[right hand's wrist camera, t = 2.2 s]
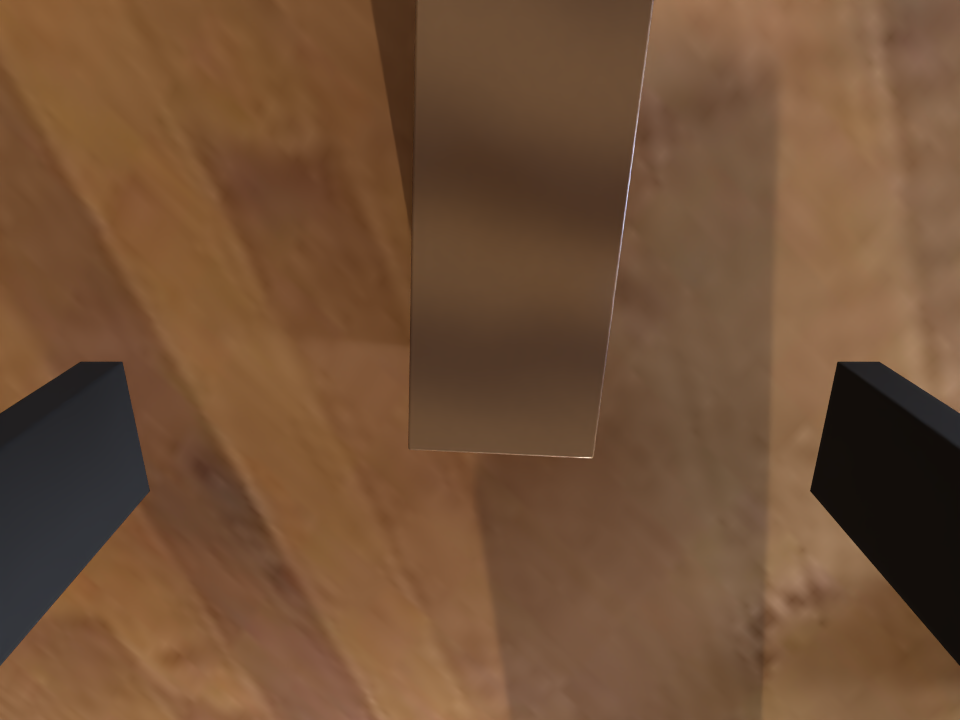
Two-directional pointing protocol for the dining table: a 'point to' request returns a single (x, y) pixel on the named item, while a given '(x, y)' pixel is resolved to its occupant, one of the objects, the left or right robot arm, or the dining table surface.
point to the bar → (518, 217)
